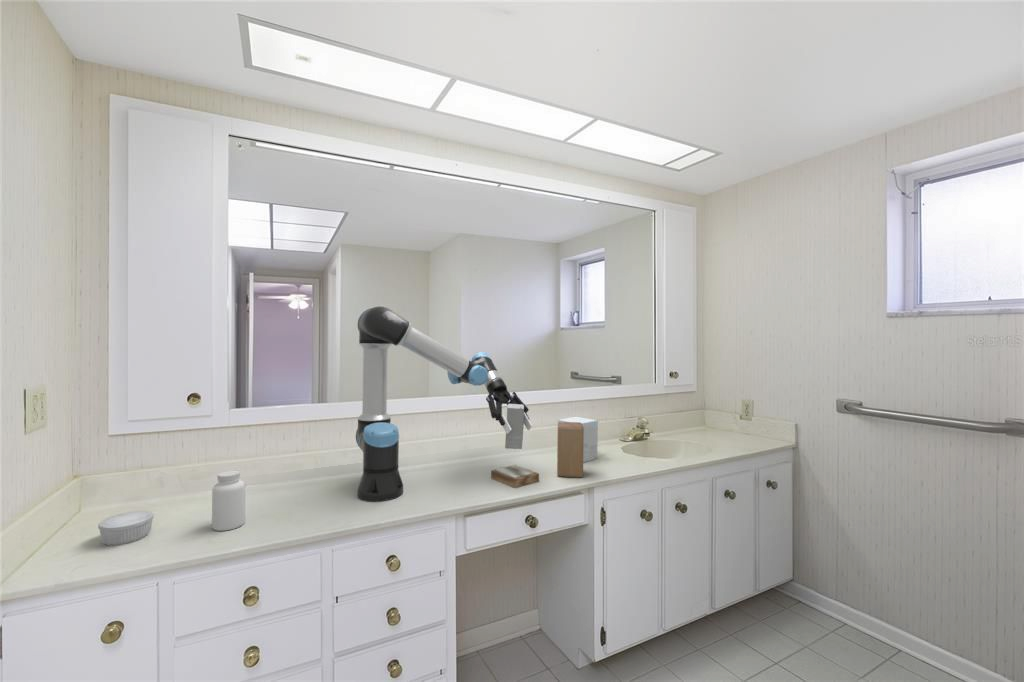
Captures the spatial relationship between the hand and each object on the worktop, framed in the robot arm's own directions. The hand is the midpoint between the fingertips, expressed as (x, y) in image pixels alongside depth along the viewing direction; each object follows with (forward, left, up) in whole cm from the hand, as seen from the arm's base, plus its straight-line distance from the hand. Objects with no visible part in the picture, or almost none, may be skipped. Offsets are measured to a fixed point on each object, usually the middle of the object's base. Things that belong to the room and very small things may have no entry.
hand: (520, 429), depth 166 cm
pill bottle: (-90, +21, -20) cm, 95 cm away
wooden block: (+22, -6, -20) cm, 30 cm away
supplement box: (+42, +8, -20) cm, 47 cm away
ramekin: (-112, +29, -20) cm, 118 cm away
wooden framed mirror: (0, +2, -19) cm, 20 cm away
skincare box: (0, +3, -7) cm, 8 cm away
